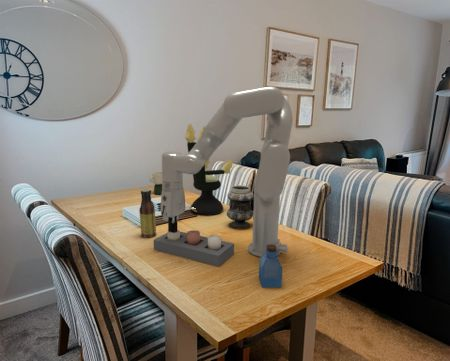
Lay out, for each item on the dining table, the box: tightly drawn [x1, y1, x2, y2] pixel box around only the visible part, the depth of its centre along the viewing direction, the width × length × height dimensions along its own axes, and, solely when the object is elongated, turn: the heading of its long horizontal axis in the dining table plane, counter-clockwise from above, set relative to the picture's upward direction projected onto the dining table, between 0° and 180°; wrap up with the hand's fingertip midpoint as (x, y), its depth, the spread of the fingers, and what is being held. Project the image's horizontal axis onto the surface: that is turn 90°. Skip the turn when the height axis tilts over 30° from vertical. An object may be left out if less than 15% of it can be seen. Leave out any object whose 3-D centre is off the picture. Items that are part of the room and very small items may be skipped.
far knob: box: [166, 229, 181, 241], centre depth 132 cm, size 5×5×5 cm
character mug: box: [149, 171, 162, 195], centre depth 207 cm, size 11×7×13 cm, turn 120°
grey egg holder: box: [153, 231, 235, 268], centre depth 128 cm, size 28×12×4 cm, turn 62°
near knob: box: [207, 234, 222, 251], centre depth 124 cm, size 5×5×5 cm
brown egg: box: [186, 230, 201, 246], centre depth 128 cm, size 5×5×5 cm
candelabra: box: [184, 123, 233, 216], centre depth 170 cm, size 19×22×45 cm
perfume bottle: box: [258, 244, 283, 288], centre depth 107 cm, size 6×6×12 cm
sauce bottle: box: [138, 188, 157, 239], centre depth 141 cm, size 7×6×20 cm
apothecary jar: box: [226, 184, 254, 230], centre depth 155 cm, size 12×12×18 cm
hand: (172, 231), depth 132 cm, fingers closed
